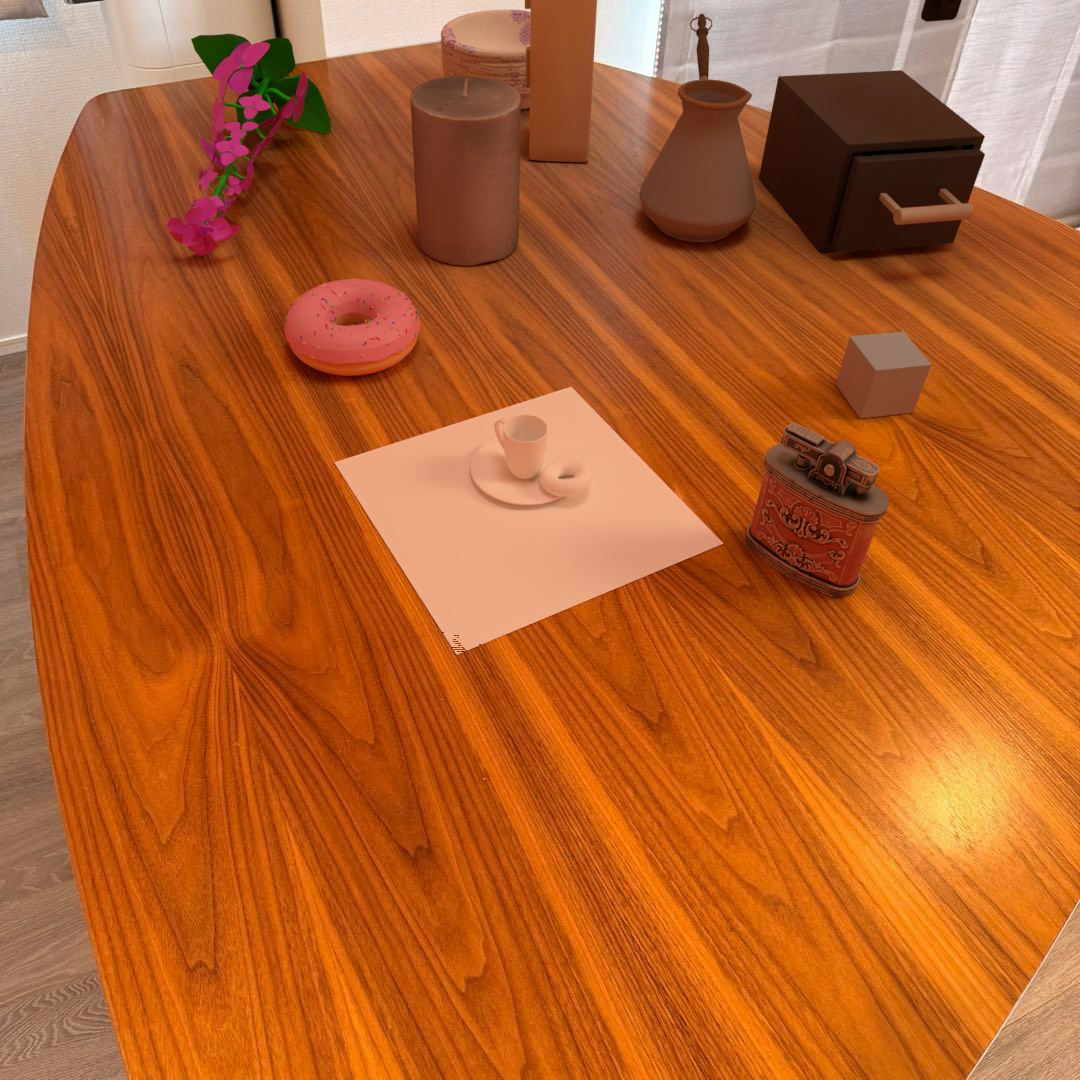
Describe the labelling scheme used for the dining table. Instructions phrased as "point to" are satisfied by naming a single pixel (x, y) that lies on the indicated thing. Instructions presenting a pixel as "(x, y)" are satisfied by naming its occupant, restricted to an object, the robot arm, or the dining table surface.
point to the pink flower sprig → (245, 123)
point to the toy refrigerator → (560, 78)
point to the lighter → (816, 511)
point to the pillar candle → (466, 168)
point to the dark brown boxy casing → (846, 137)
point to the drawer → (905, 198)
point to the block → (882, 374)
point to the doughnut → (352, 327)
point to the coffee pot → (702, 161)
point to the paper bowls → (489, 47)
